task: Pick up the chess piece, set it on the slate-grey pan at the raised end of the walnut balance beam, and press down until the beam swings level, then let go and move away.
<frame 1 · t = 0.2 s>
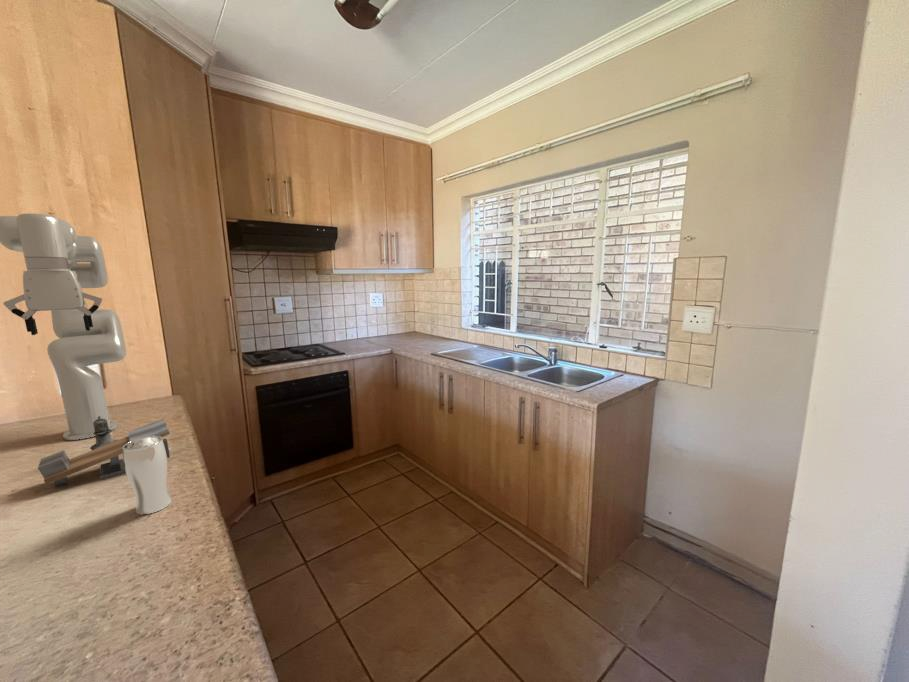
hand: (62, 332, 95), 36 cm above the countertop, tool pointing down, fingers open, 9 cm apart
chess piece: (107, 456, 103), on the countertop
beam: (109, 445, 94), point 7 cm above the countertop, hinge at 12.0°
beam stand: (116, 469, 96), on the countertop
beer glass: (154, 507, 80), on the countertop
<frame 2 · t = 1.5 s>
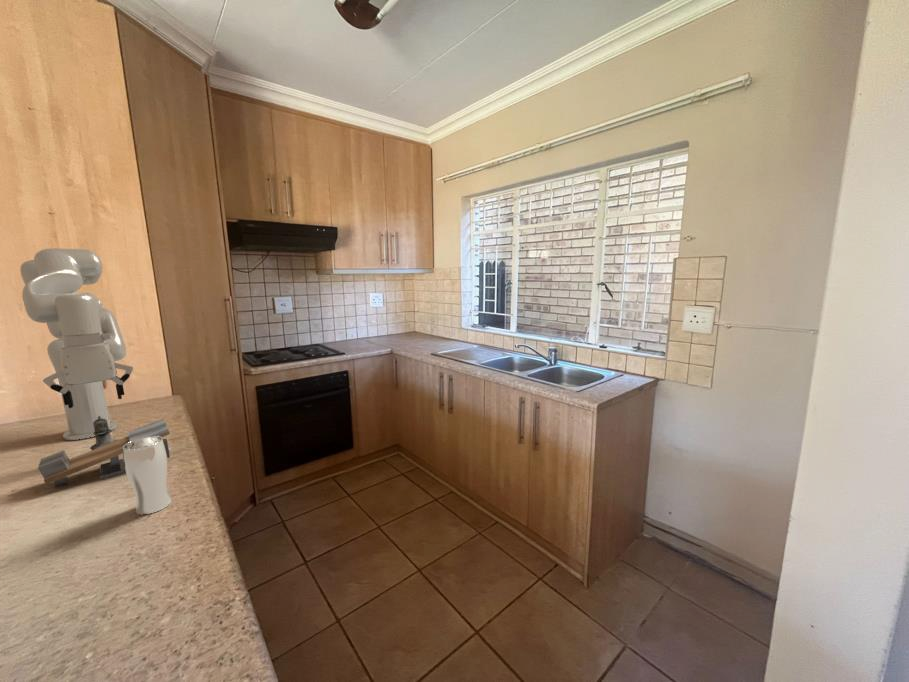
hand: (96, 402, 100), 16 cm above the countertop, tool pointing down, fingers open, 9 cm apart
nothing on the countertop moved.
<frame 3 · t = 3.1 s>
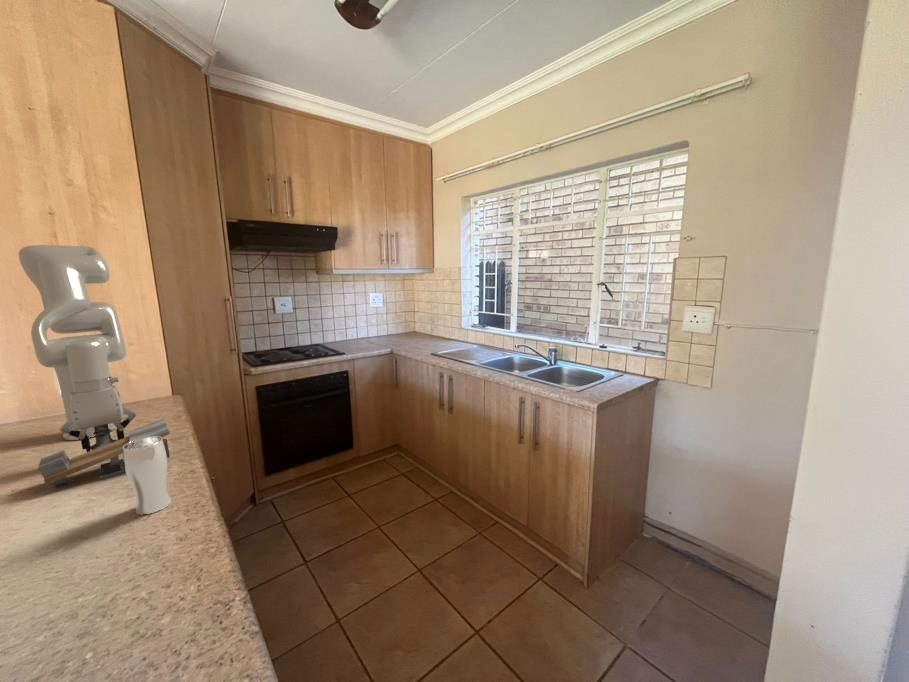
hand: (104, 446, 103), 3 cm above the countertop, tool pointing down, fingers closed on chess piece, 5 cm apart
chess piece: (107, 456, 103), on the countertop, touching gripper
everything else where it was.
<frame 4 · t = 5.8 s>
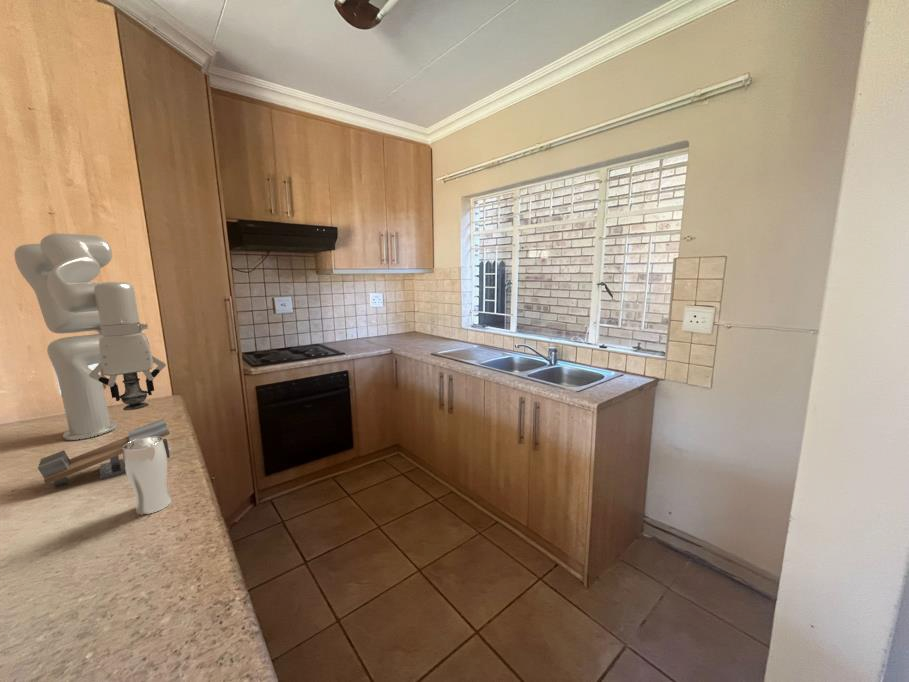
hand: (134, 396, 98), 18 cm above the countertop, tool pointing down, fingers closed on chess piece, 5 cm apart
chess piece: (136, 407, 99), point 15 cm above the countertop, touching gripper
everything else where it was.
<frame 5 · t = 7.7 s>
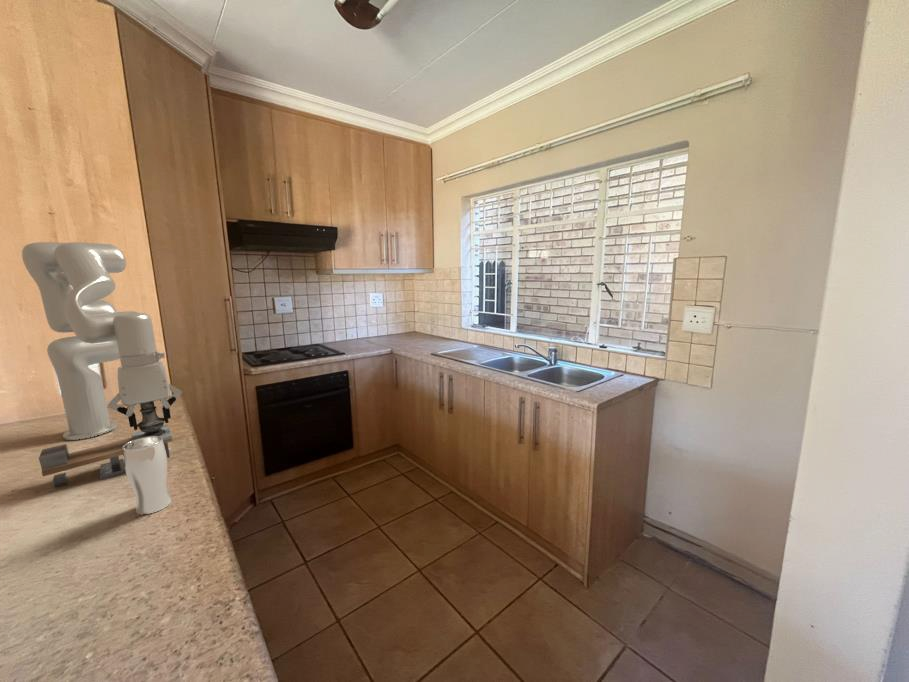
hand: (151, 424, 99), 10 cm above the countertop, tool pointing down, fingers closed on chess piece, 5 cm apart
chess piece: (153, 434, 100), point 7 cm above the countertop, touching beam, gripper
beam: (111, 444, 94), point 7 cm above the countertop, hinge at 1.7°, touching chess piece
everything else where it was.
when the fingers open (10 cm above the countertop, at t = 8.7 s): chess piece stays where it is, resting on beam.
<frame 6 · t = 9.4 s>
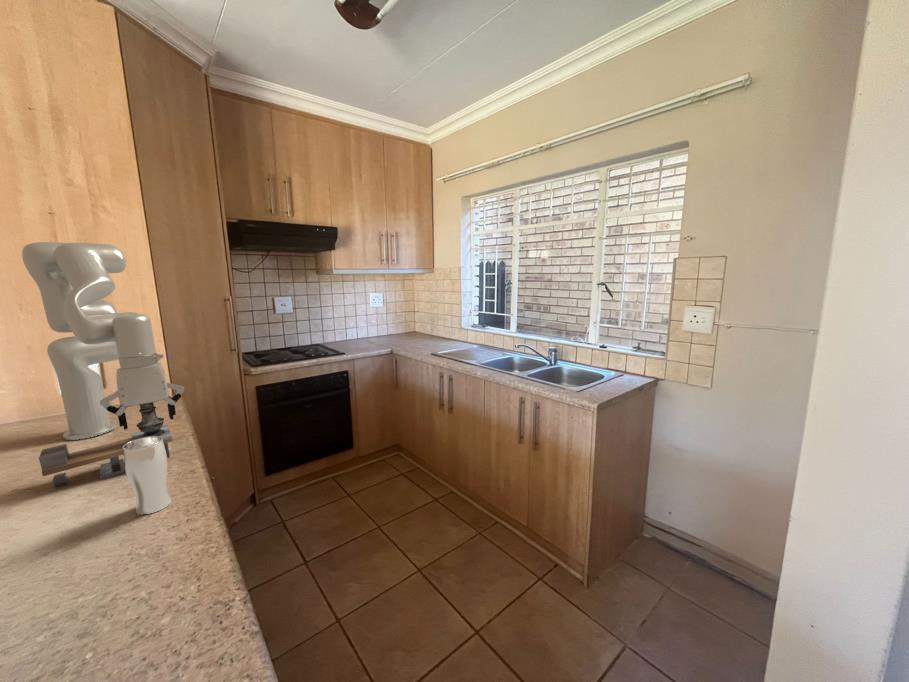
hand: (149, 422, 99), 11 cm above the countertop, tool pointing down, fingers open, 9 cm apart
chess piece: (153, 435, 100), point 7 cm above the countertop, touching beam
everything else where it was.
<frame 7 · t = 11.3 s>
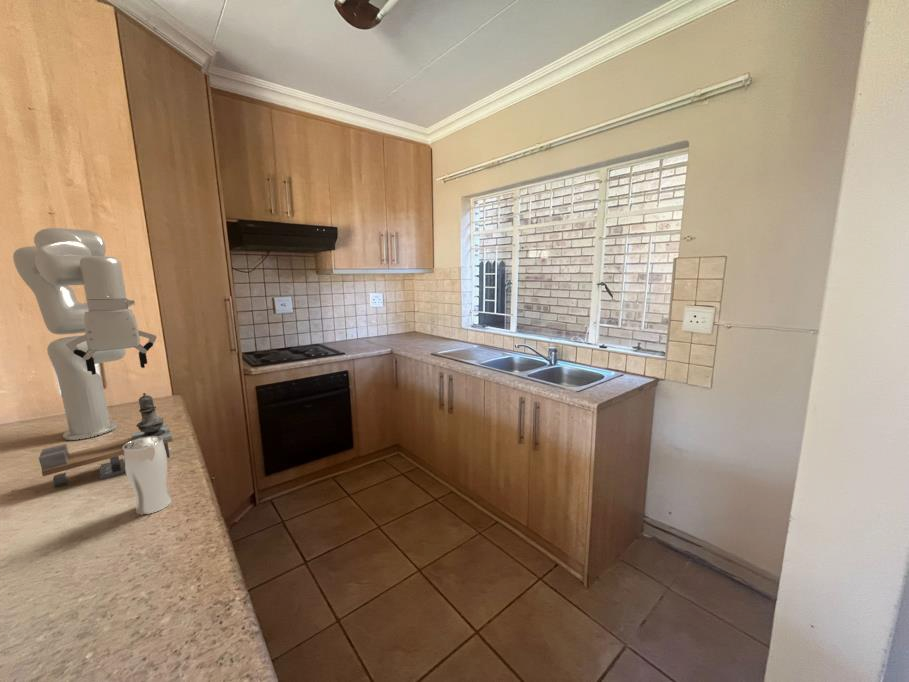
hand: (119, 370, 97), 25 cm above the countertop, tool pointing down, fingers open, 9 cm apart
nothing on the countertop moved.
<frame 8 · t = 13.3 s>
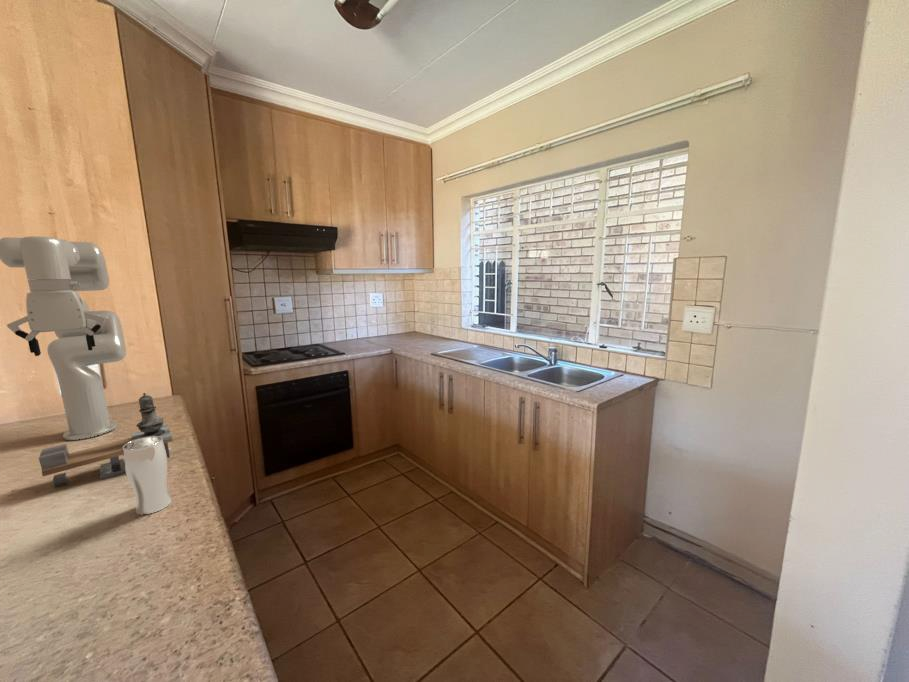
hand: (65, 352, 97), 30 cm above the countertop, tool pointing down, fingers open, 9 cm apart
nothing on the countertop moved.
at the end: beam at +2° (first picture: +12°); chess piece inside the target area on the beam (0.4 cm from its centre), point 2.0 cm above the beam's base; chess piece tilted 2° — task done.
